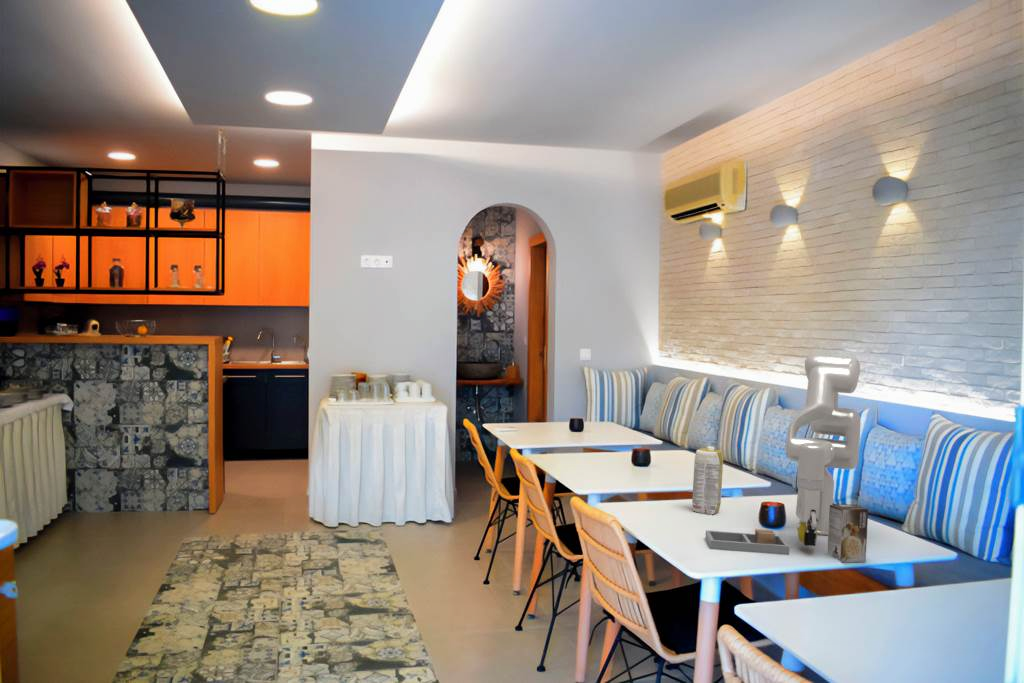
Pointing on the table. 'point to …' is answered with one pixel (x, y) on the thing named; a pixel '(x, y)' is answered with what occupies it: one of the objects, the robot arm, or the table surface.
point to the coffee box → (848, 533)
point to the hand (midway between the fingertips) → (807, 541)
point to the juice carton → (707, 480)
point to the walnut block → (764, 536)
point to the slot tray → (744, 543)
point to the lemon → (803, 531)
